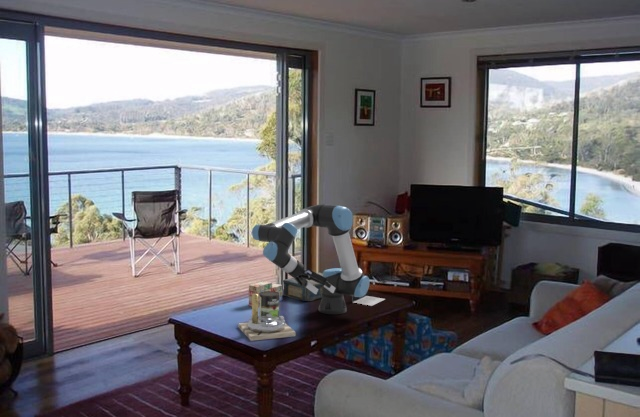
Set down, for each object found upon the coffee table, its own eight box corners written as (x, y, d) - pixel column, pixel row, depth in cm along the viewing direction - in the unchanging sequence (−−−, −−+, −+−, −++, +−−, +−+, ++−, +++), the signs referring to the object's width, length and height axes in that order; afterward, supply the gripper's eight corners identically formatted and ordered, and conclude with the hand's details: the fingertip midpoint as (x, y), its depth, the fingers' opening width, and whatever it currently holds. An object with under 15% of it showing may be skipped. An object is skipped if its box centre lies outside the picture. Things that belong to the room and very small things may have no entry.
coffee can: (282, 321, 341) (283, 294, 339) (265, 324, 334) (266, 297, 333) (272, 316, 349) (272, 290, 347) (255, 319, 343) (255, 292, 341)
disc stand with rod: (276, 320, 334) (277, 287, 332) (290, 330, 318) (291, 295, 316) (242, 324, 326) (242, 290, 324) (255, 334, 310) (255, 299, 308)
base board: (238, 327, 328) (238, 323, 328) (280, 323, 337) (280, 319, 336) (250, 340, 308) (250, 336, 308) (295, 336, 316) (295, 331, 316)
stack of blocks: (274, 299, 384) (274, 278, 383) (282, 300, 381) (282, 279, 379) (248, 306, 368) (248, 284, 366) (256, 308, 364) (256, 286, 362)
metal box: (281, 296, 392) (281, 279, 391) (318, 287, 416) (318, 271, 415) (307, 303, 378) (308, 285, 376) (344, 293, 402) (344, 277, 400)
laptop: (371, 307, 372) (372, 284, 370) (351, 303, 378) (352, 281, 377) (385, 300, 387) (386, 278, 386) (366, 297, 394) (366, 275, 392)
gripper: (274, 275, 309) (306, 299, 318) (304, 271, 289) (338, 297, 298) (281, 261, 312) (313, 285, 321) (311, 257, 292) (344, 282, 301)
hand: (325, 291), depth 309 cm, fingers open, 13 cm apart
